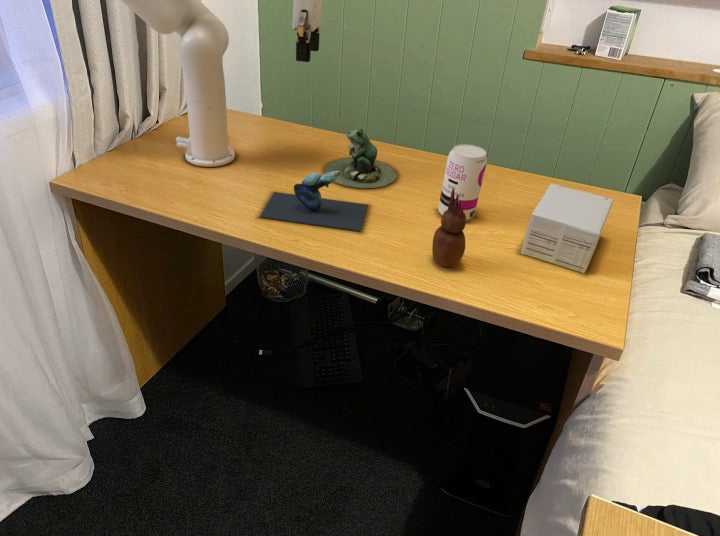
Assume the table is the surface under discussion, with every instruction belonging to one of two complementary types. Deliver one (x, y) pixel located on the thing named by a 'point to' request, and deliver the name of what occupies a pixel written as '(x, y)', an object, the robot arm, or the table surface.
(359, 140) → the frog figurine
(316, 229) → the table surface
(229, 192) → the table surface
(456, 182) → the supplement can
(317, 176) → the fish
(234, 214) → the table surface
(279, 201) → the mat
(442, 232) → the wooden figurine
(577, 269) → the supplement box
